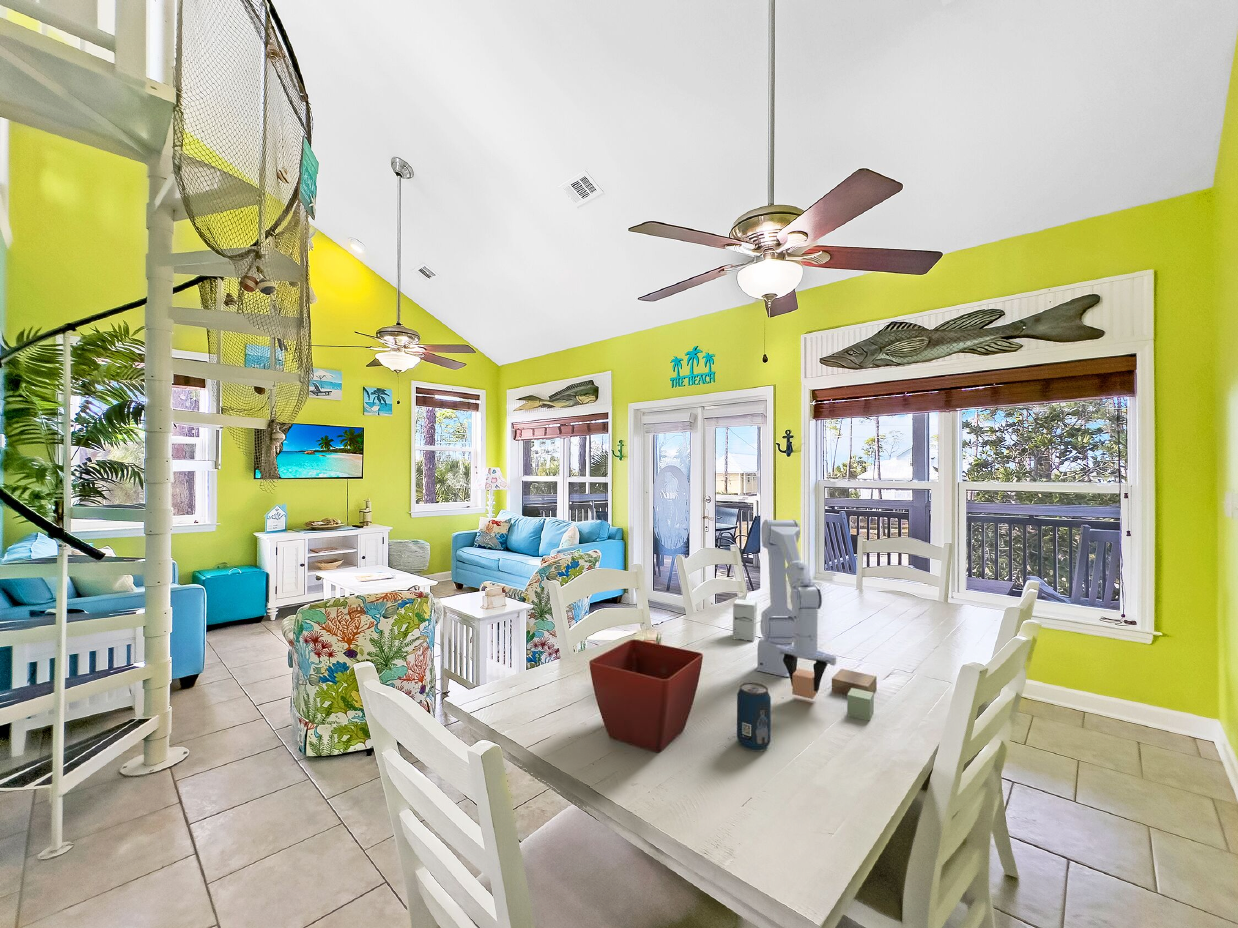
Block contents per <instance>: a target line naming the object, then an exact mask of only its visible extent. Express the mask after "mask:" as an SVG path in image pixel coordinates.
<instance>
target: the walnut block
mask: <svg viewBox="0 0 1238 928" xmlns="http://www.w3.org/2000/svg"><path fill="white" fill-rule="evenodd" d="M877 680H878V679H877V675H872V674H868V673H862V672H858V671H853V670H849V669H845V668H840V670H838V671H837V672H836V673H835V675H834V676H832V677H831V693H833V694H838V695H840V696H845V697H847V694H848V693H849V691H850V690H851V688H854V689H859V690H864V691H868V692H873V693H874V694H875V693H876V692H877V686H878V685H877V683H878V682H877Z"/></svg>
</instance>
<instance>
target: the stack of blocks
mask: <svg viewBox="0 0 1238 928" xmlns="http://www.w3.org/2000/svg"><path fill="white" fill-rule="evenodd" d="M633 639H635V640H641V641H646V642H651V643H656V644H660V645H662V632H661V631H659V630H652V629H651V630H650V629H649V630H648V629H646V630H645V629H637V630H636V633H635V635H634V637H633Z"/></svg>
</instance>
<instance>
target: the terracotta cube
mask: <svg viewBox="0 0 1238 928" xmlns="http://www.w3.org/2000/svg"><path fill="white" fill-rule="evenodd" d="M791 687H792V688H791V689H792V690H791V691H792V693H791V694H792V695H794V696H797V697H798V696H799V697H802V698H807V699H811V700H813V699H815V697H816V696H817V694H818V693H819V690H818V691H817V692H816V691H814V671H811V670H807V669H803V668H802V669H801V668H797V670H796V671H795V672H794V673H793V675H792V685H791Z"/></svg>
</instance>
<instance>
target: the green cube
mask: <svg viewBox="0 0 1238 928" xmlns="http://www.w3.org/2000/svg"><path fill="white" fill-rule="evenodd" d="M874 698H875V693H873V692H868V691H864V690H859V689H854V688H851V690H850V691H849V693H848V694H847V696H846V699H847V703H846V705H847V706H846V707H847V708H846V709H847V713H846V714H847V715H846V716H848V715H849V717H852V716H853V717H852V718H856V717H858V718H857V719H860V720H864V719H865V720H864V721H868V720H870V721H871V719H872V718H871V717H873V716H872V715H874V712H875V710H874V709H875V708H874V706H875V705H874V703H875V699H874Z"/></svg>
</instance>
